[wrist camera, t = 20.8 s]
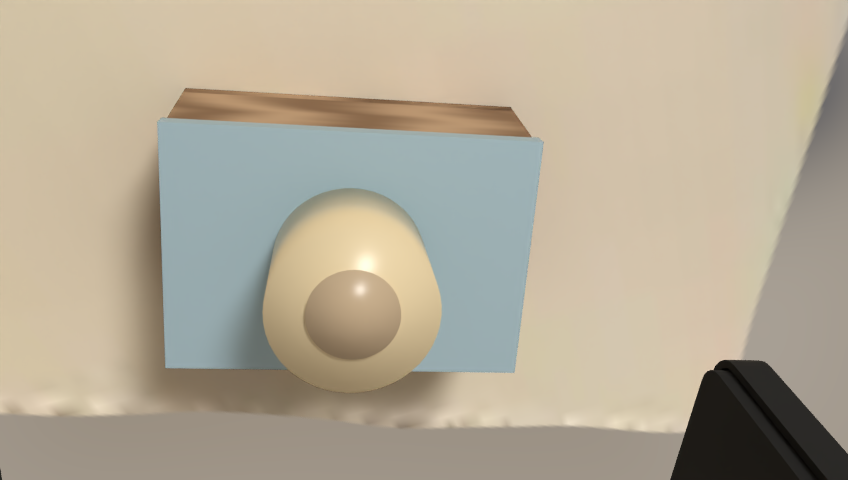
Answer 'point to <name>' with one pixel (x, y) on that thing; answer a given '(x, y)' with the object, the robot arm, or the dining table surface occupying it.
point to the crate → (347, 112)
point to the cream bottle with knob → (350, 292)
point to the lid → (324, 171)
